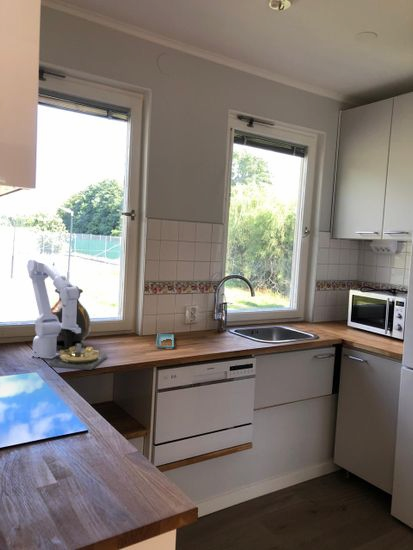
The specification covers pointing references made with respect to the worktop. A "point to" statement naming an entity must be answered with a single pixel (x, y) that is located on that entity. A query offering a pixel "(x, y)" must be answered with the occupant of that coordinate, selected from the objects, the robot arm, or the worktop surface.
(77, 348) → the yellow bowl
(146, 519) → the worktop surface
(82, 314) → the amphora vase
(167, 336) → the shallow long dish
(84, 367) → the base plate
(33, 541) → the worktop surface
